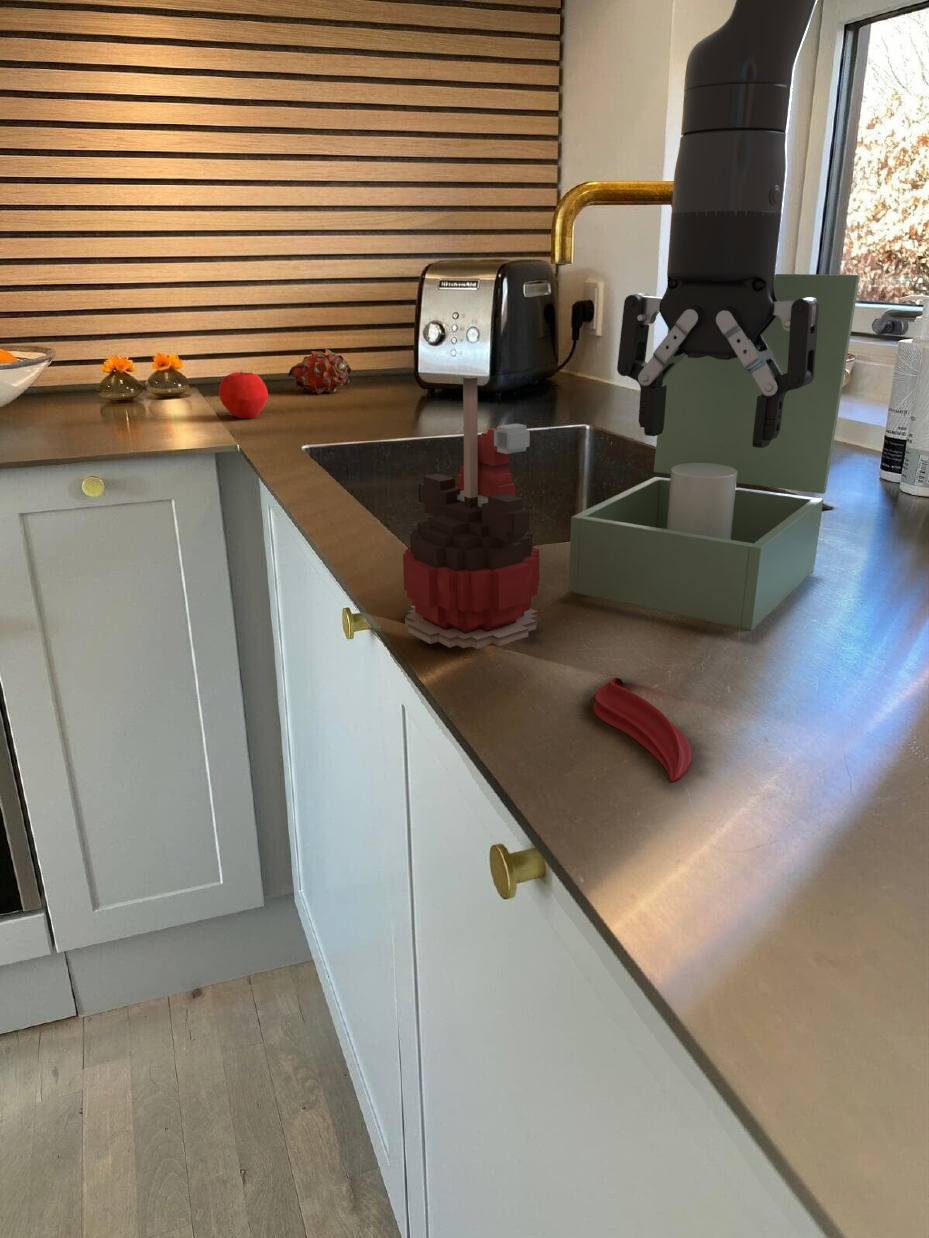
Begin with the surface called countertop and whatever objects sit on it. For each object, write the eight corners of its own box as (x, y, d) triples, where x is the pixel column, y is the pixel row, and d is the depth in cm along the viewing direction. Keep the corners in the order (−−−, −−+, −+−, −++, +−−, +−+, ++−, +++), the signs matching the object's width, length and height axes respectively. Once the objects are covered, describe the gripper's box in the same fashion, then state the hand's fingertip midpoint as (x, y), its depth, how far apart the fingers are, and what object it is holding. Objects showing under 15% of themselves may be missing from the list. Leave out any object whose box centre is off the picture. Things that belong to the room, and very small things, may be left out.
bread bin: (750, 640, 66) (761, 548, 64) (567, 600, 74) (570, 516, 71) (812, 578, 78) (823, 498, 76) (649, 549, 86) (654, 476, 83)
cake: (377, 624, 70) (366, 375, 63) (476, 596, 75) (475, 364, 68) (466, 672, 62) (463, 393, 55) (569, 637, 67) (578, 379, 60)
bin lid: (857, 274, 70) (871, 278, 74) (673, 273, 78) (694, 276, 82) (823, 494, 75) (838, 486, 79) (653, 472, 83) (674, 466, 87)
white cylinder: (677, 566, 79) (685, 460, 76) (735, 576, 76) (746, 467, 73) (652, 582, 75) (660, 472, 72) (713, 594, 72) (724, 480, 69)
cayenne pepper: (586, 682, 60) (588, 654, 59) (659, 682, 60) (661, 654, 59) (611, 781, 49) (613, 749, 48) (700, 782, 49) (703, 749, 48)
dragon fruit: (357, 401, 178) (295, 411, 179) (357, 370, 183) (297, 379, 184) (345, 368, 171) (281, 378, 172) (345, 336, 175) (283, 346, 177)
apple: (212, 417, 154) (207, 371, 151) (256, 411, 159) (251, 366, 156) (233, 423, 148) (228, 375, 146) (278, 417, 153) (274, 371, 150)
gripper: (846, 207, 65) (814, 442, 71) (653, 211, 72) (639, 424, 78) (815, 203, 59) (784, 460, 65) (610, 209, 66) (598, 438, 72)
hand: (705, 440), depth 72 cm, fingers open, 8 cm apart
